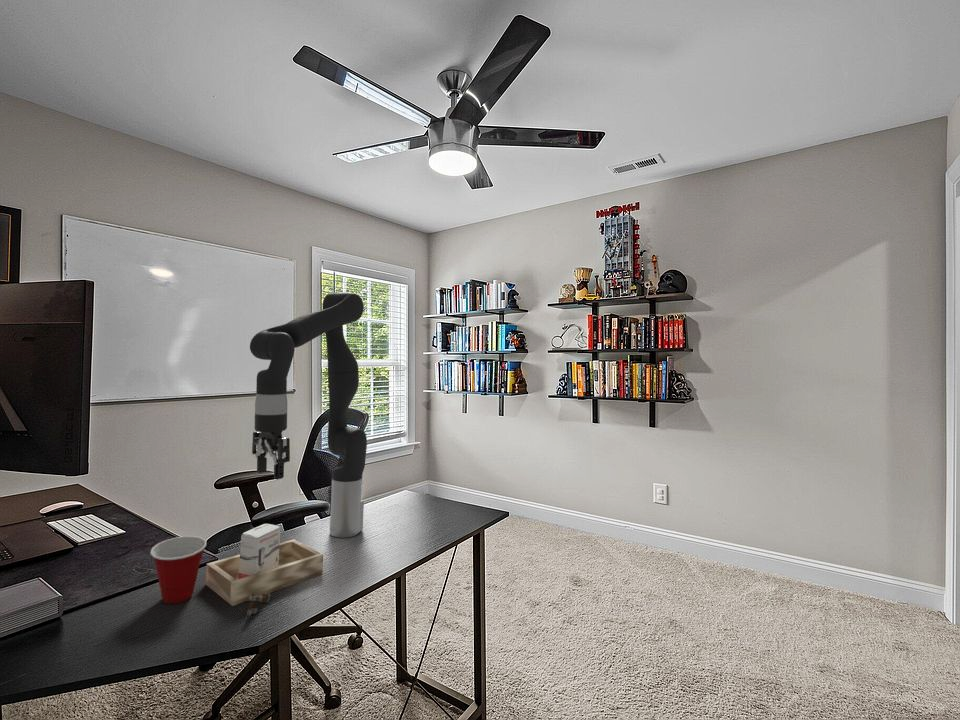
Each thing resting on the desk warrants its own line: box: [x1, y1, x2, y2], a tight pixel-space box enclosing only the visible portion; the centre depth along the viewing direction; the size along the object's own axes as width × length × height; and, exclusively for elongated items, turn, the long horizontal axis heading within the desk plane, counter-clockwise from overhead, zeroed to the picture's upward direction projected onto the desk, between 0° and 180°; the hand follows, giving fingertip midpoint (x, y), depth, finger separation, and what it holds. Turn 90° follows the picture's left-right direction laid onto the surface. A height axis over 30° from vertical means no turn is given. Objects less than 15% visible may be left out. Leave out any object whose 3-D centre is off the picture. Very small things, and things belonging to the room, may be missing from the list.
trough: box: [205, 538, 324, 607], centre depth 120 cm, size 22×14×5 cm, turn 140°
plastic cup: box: [150, 535, 207, 604], centre depth 110 cm, size 11×11×12 cm
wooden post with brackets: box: [246, 593, 271, 618], centre depth 106 cm, size 2×8×4 cm, turn 178°
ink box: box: [238, 523, 281, 579], centre depth 119 cm, size 9×5×12 cm, turn 164°
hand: (270, 475), depth 123 cm, fingers open, 8 cm apart
